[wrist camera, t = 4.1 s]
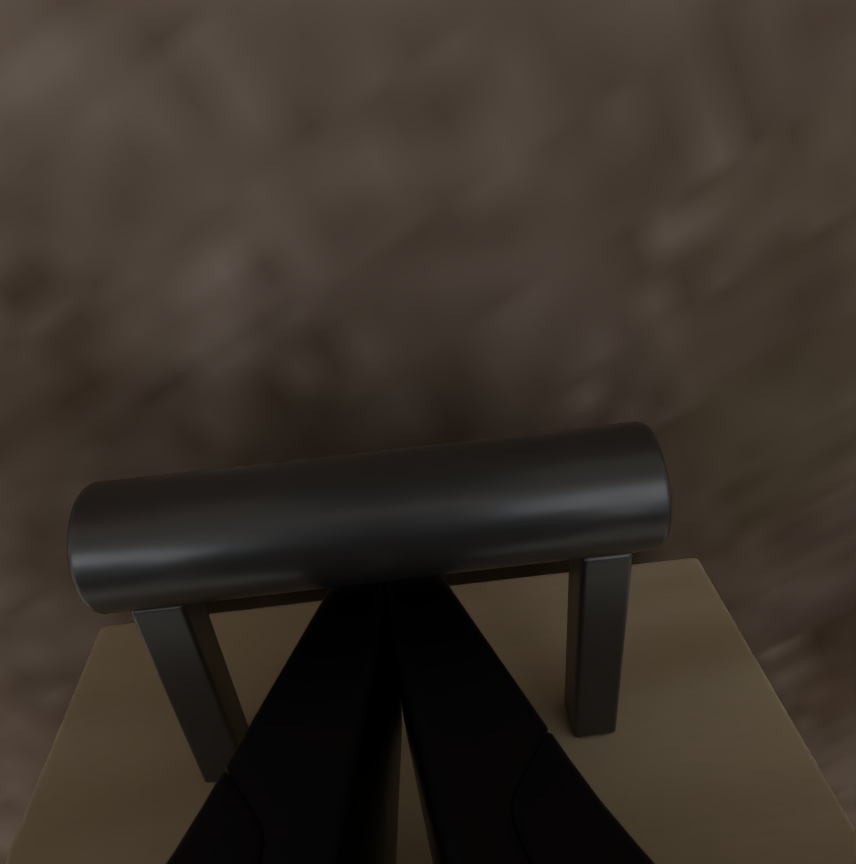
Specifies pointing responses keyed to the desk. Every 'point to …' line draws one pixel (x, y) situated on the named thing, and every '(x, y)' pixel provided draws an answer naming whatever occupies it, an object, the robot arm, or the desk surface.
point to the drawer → (485, 603)
